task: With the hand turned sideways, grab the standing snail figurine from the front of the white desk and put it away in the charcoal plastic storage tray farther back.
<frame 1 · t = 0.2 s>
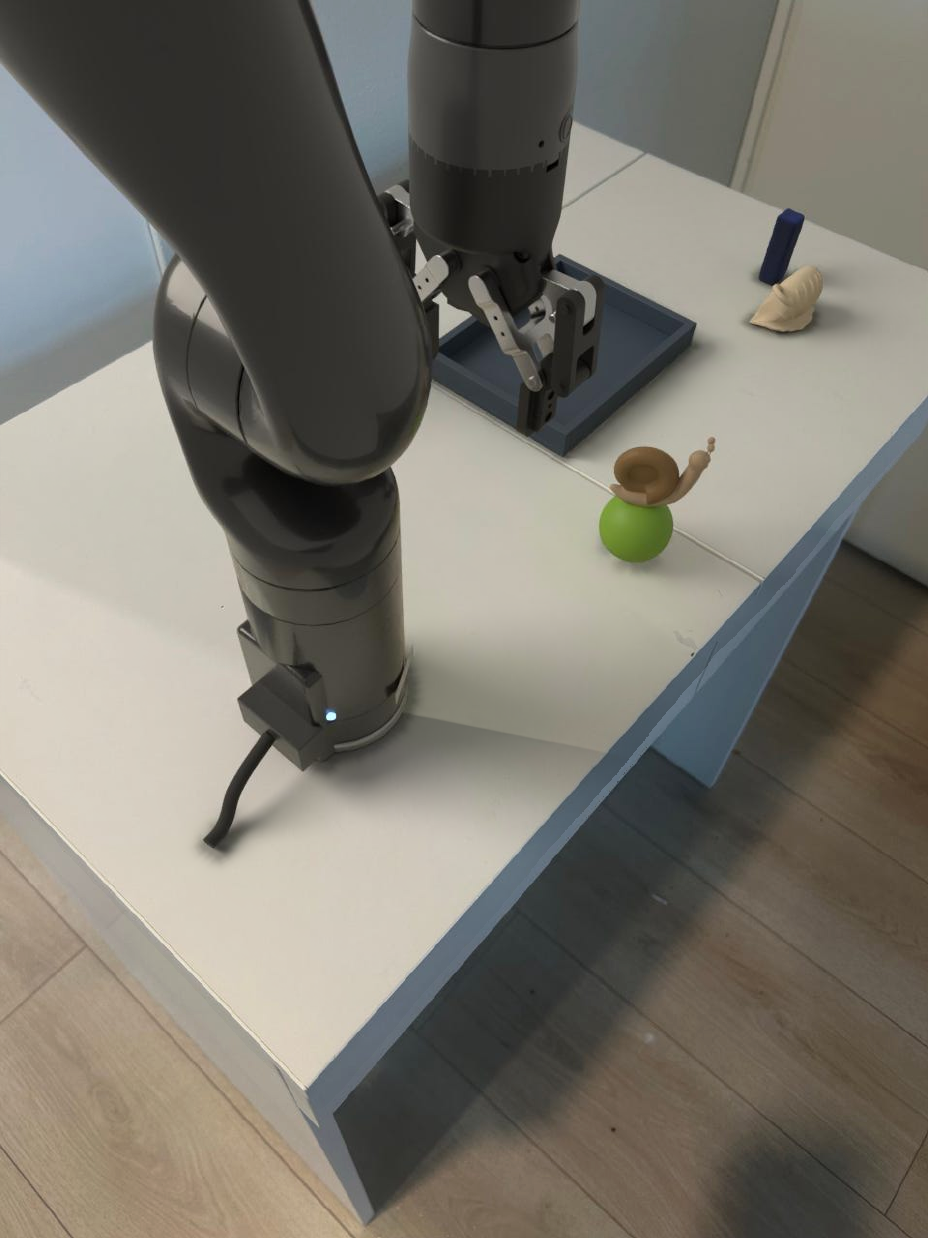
hand: (476, 393, 56), 17 cm above the table, tool pointing down, fingers open, 8 cm apart
eraser: (769, 280, 94), on the table
tray: (559, 358, 85), on the table
snail figurine: (635, 552, 73), on the table
beige curved piece: (780, 320, 90), on the table
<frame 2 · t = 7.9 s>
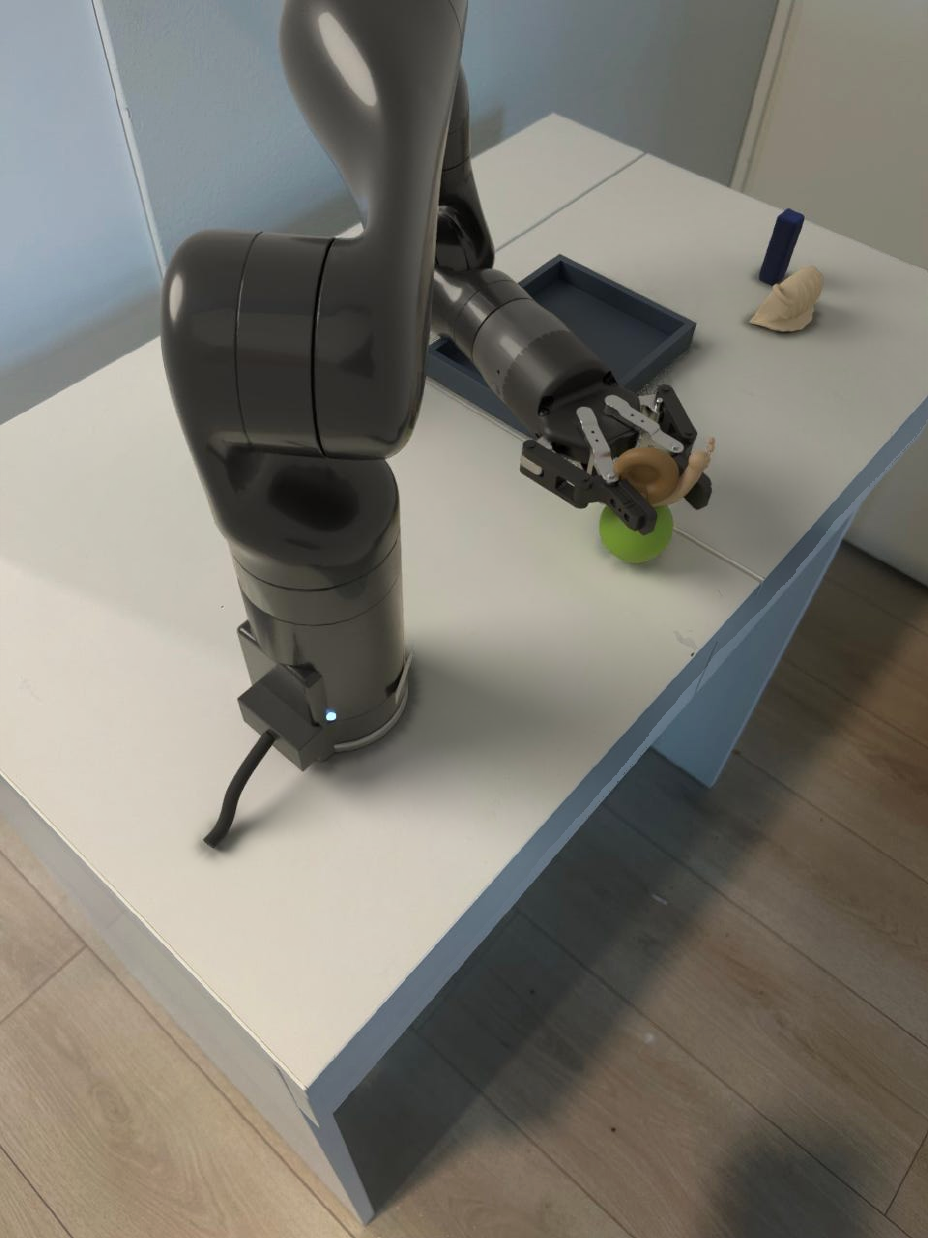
hand: (678, 511, 65), 7 cm above the table, tool horizontal, fingers closed on snail figurine, 4 cm apart
snail figurine: (635, 552, 73), on the table, touching gripper
everything else where it was.
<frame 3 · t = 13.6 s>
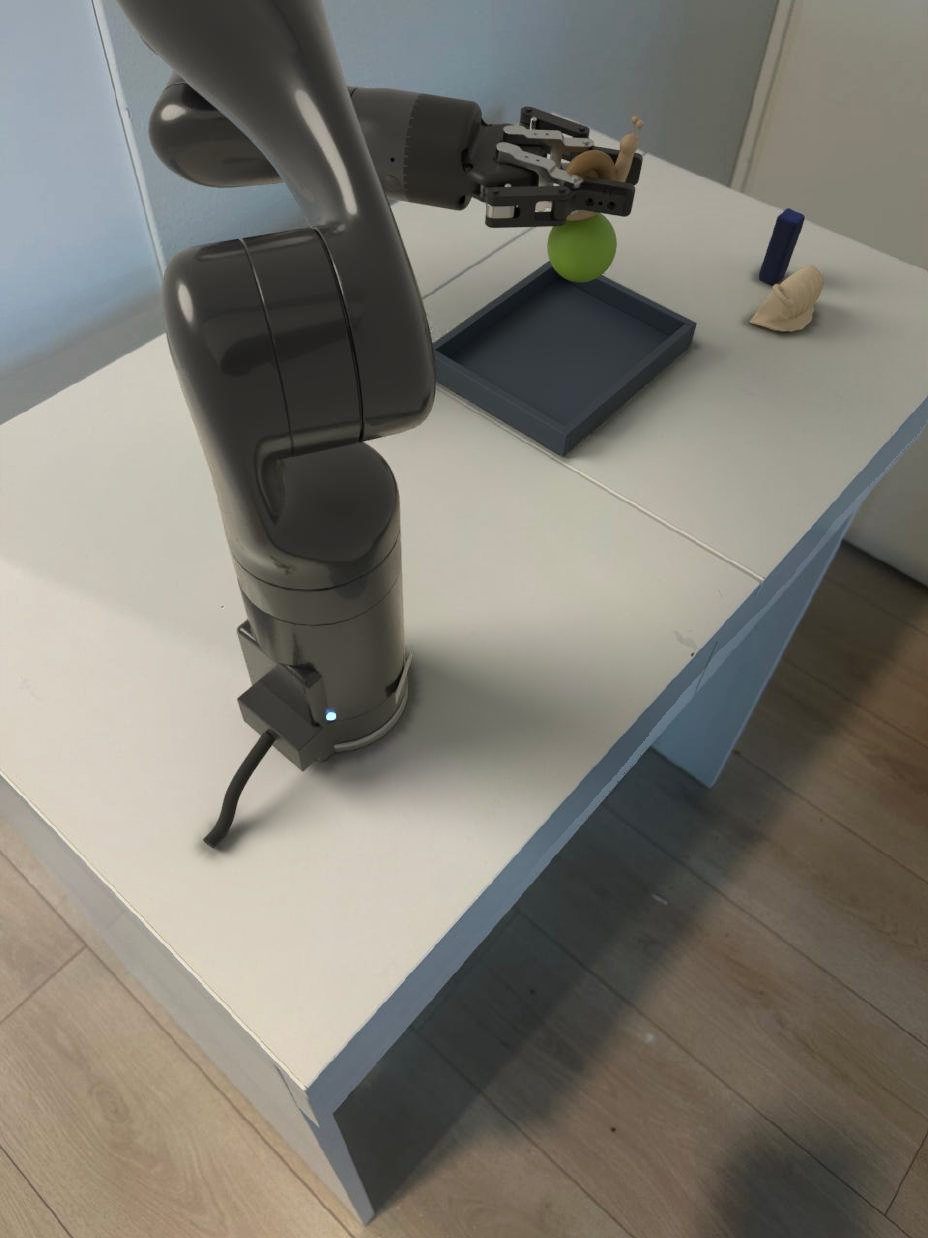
hand: (635, 185, 70), 18 cm above the table, tool horizontal, fingers closed on snail figurine, 3 cm apart
snail figurine: (582, 275, 77), point 9 cm above the table, touching gripper
everything else where it was.
when the fingers open (9 cm above the table, at t = 16.6 s): snail figurine stays where it is, resting on tray.
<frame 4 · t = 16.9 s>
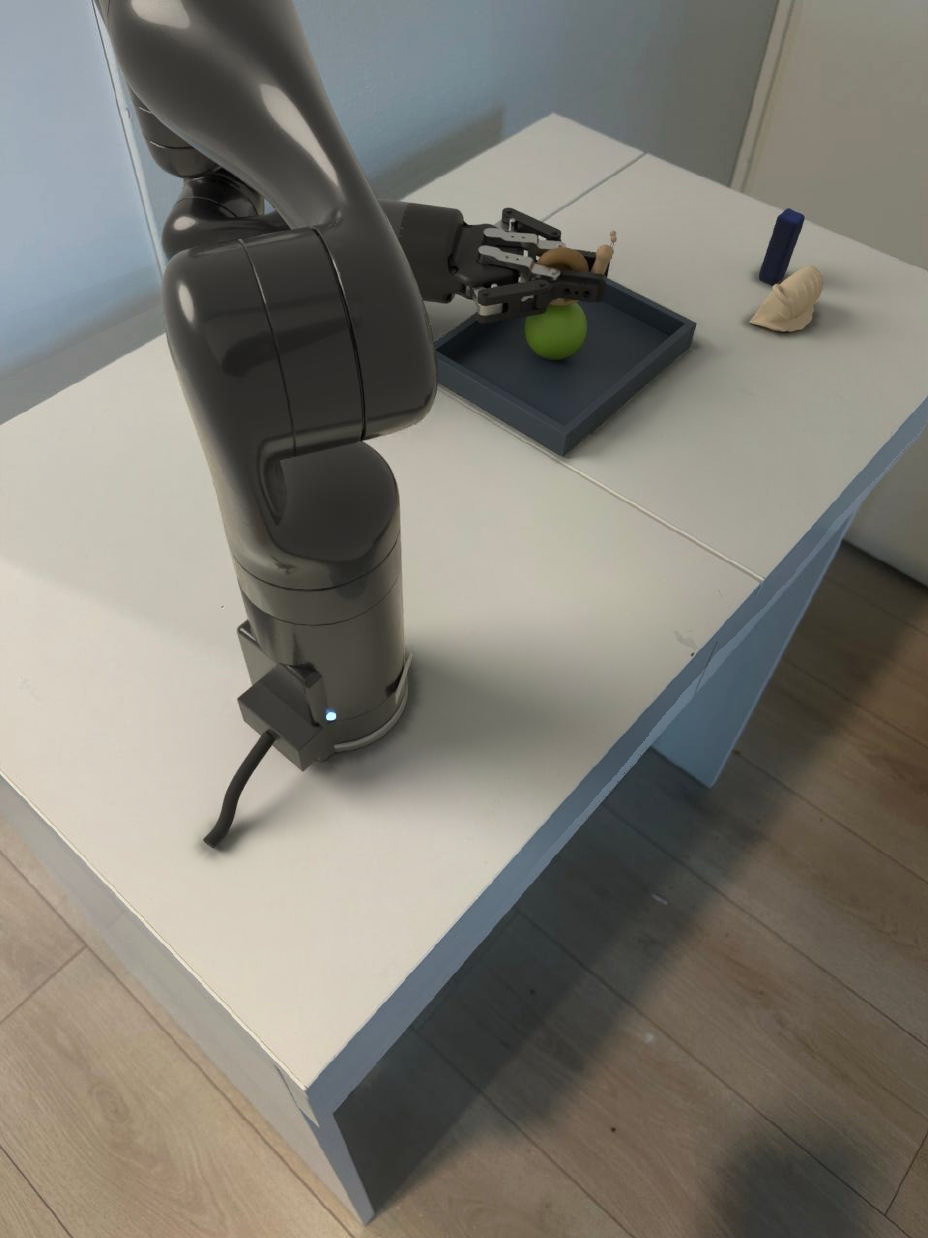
hand: (606, 278, 78), 9 cm above the table, tool horizontal
snail figurine: (556, 355, 85), resting on tray
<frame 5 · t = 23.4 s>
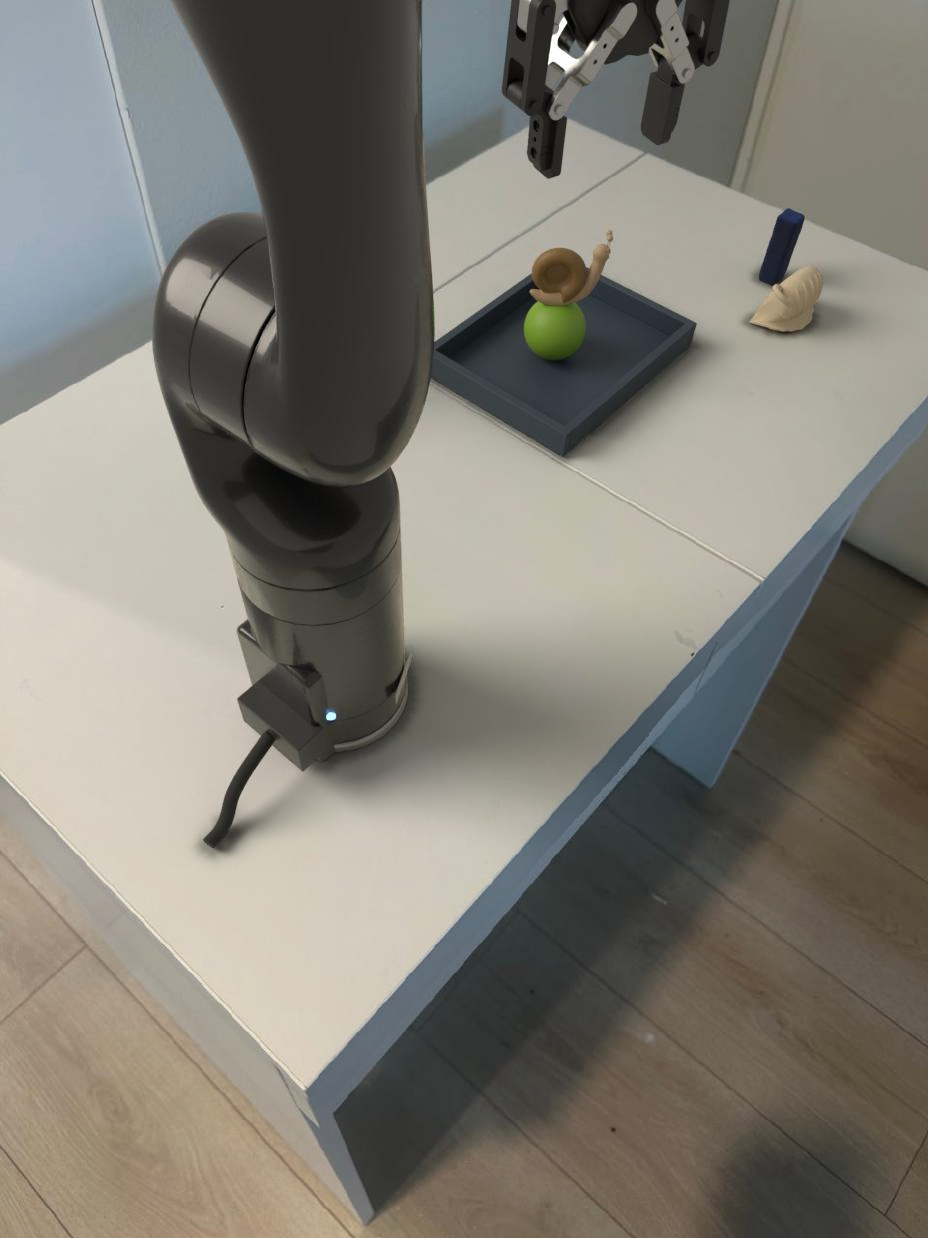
hand: (601, 154, 60), 24 cm above the table, tool pointing down, fingers open, 8 cm apart
at the end: snail figurine inside the target area in the tray (0.3 cm from its centre), point 0.3 cm above the tray's base; snail figurine tilted 0°; the gripper is holding nothing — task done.
